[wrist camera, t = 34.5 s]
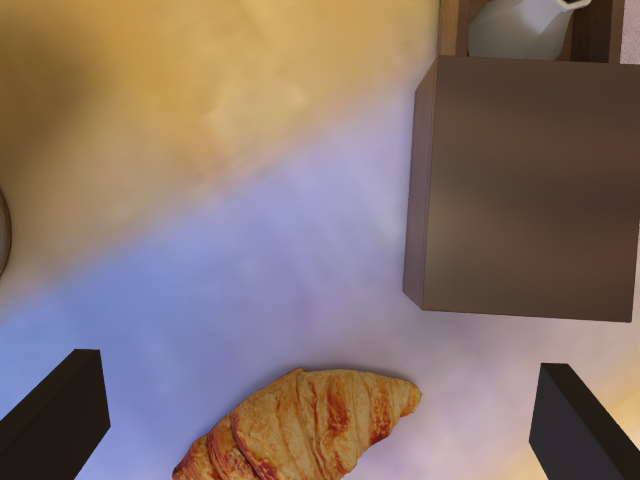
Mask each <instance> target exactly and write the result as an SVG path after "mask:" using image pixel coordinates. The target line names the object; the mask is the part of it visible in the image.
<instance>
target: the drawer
mask: <svg viewBox="0 0 640 480" xmlns="http://www.w3.org/2000/svg"><path fill="white" fill-rule="evenodd" d="M491 1H494V0H441V9H440V24H439V40H438V55H450V56H469V52H468V34H469V25H470V24H471V23H472V21H473V20H474V19H475V18H476V16H477V15H478V14H479V13H480V11H481V10H482V9H483V8H484V6H485V5H486V4H487V3H488V2H491ZM624 3H625V0H591V2H590V3H589V4H588V5H587V6H585V7H582V8H578V9H575V10H574V11H573V13H572V14H571V17H570V20H569V23H568V27H567V30H566V33H565V38H564V43H563V47H562V51H561V53H560V54H559V55H558V57H557V58H556V59H555V60H554V61H574V62H594V63H615V64H620V54H621V42H622V29H623V16H624ZM438 55H437V56H438Z"/></svg>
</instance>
